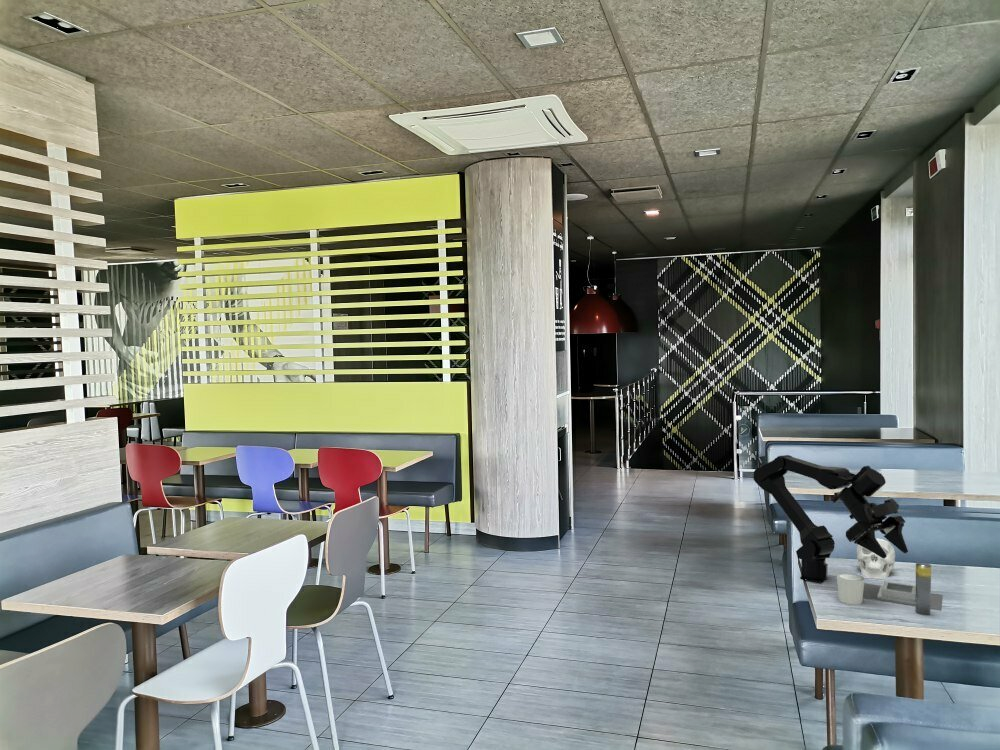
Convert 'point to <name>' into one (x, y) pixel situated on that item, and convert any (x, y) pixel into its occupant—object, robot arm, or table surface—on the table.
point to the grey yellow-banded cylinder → (923, 589)
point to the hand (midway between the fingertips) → (896, 555)
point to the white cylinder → (850, 588)
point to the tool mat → (873, 590)
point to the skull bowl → (876, 561)
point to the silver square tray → (897, 593)
